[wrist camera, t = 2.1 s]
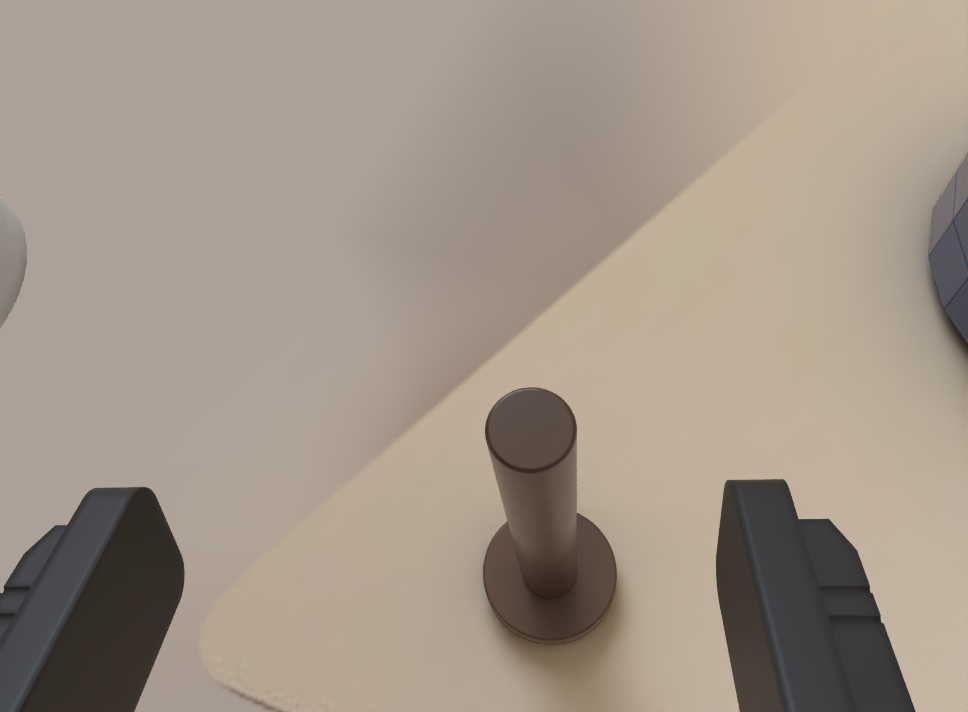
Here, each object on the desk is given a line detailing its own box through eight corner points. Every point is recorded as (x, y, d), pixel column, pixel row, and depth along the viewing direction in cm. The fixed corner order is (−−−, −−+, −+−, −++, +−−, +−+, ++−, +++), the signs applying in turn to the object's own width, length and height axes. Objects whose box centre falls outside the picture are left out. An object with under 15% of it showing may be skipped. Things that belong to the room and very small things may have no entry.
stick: (487, 647, 29) (417, 545, 16) (484, 517, 31) (419, 335, 18) (621, 642, 28) (657, 533, 16) (609, 510, 30) (632, 321, 18)
